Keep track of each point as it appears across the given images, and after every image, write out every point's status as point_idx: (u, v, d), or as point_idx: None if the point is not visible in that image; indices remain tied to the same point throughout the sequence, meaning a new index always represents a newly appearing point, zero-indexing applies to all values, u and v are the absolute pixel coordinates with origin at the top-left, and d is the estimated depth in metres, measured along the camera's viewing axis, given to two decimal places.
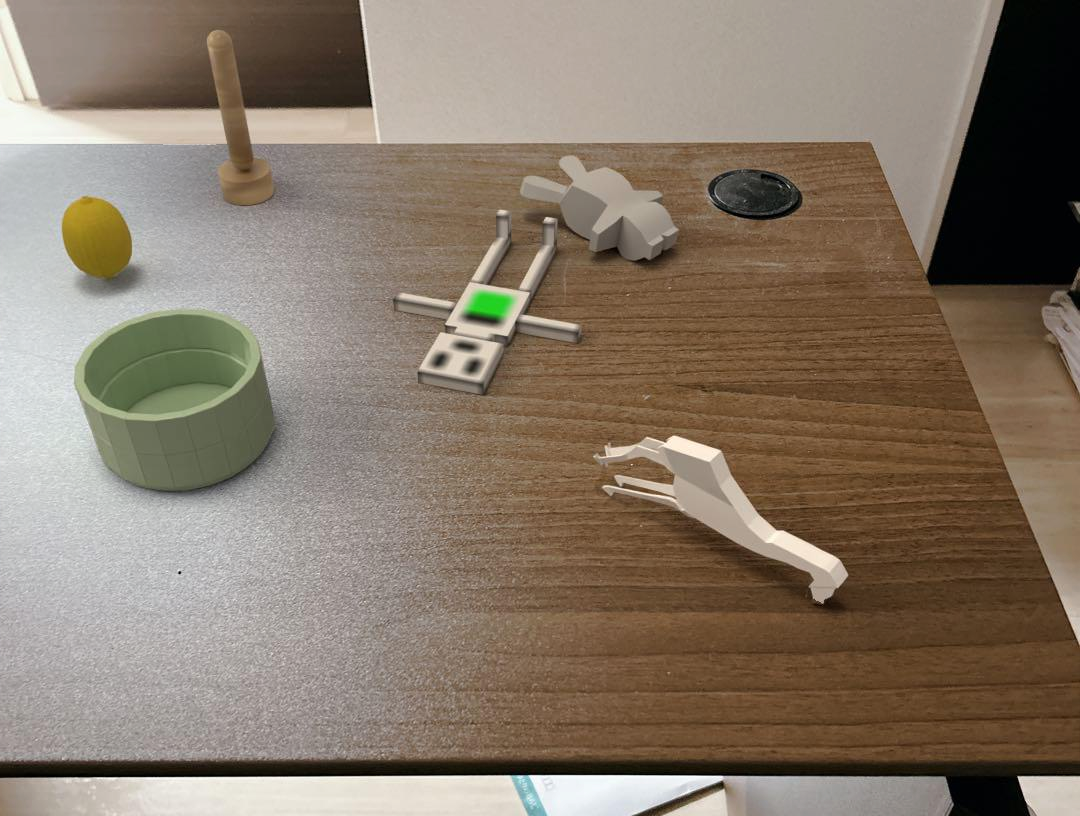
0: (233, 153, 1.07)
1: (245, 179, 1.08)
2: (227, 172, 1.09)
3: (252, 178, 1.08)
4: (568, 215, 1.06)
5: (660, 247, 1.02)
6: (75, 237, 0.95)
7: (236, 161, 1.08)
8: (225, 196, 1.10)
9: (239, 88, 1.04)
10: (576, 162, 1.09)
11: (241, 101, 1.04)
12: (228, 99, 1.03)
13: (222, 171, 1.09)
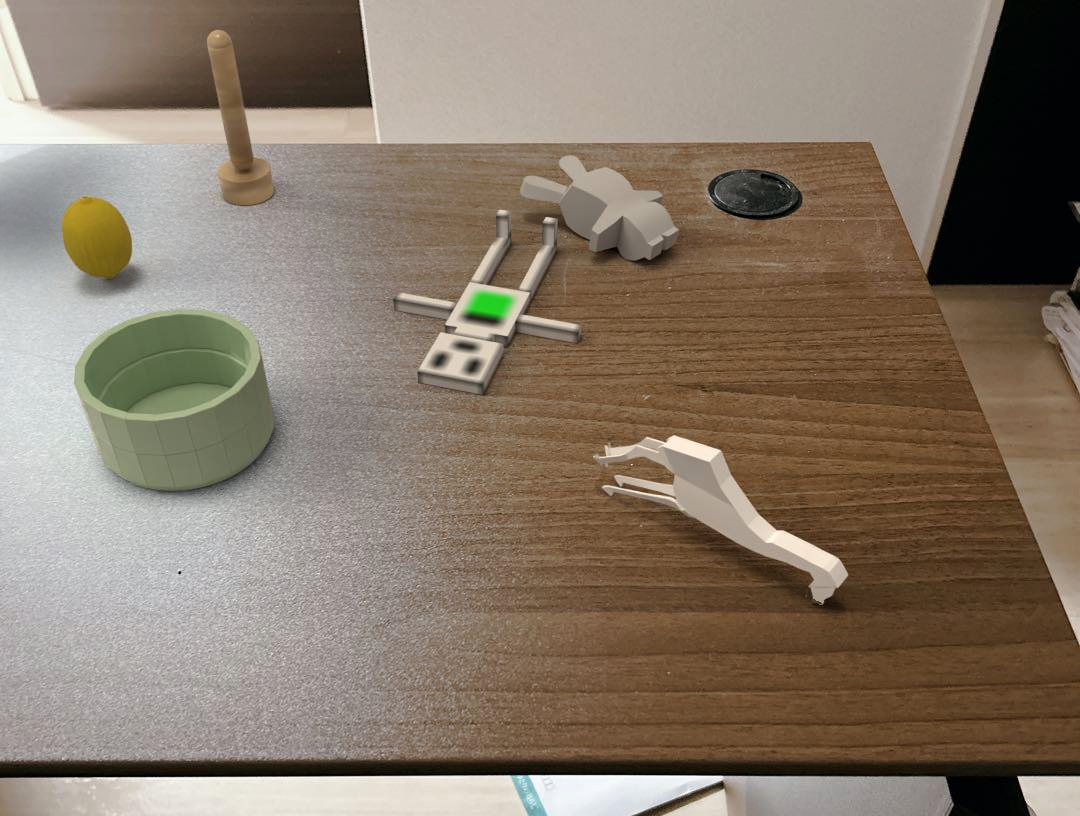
0: (233, 153, 1.07)
1: (245, 179, 1.08)
2: (227, 172, 1.09)
3: (252, 178, 1.08)
4: (568, 215, 1.06)
5: (660, 247, 1.02)
6: (75, 237, 0.95)
7: (236, 161, 1.08)
8: (225, 196, 1.10)
9: (239, 88, 1.04)
10: (576, 162, 1.09)
11: (241, 101, 1.04)
12: (228, 99, 1.03)
13: (222, 171, 1.09)
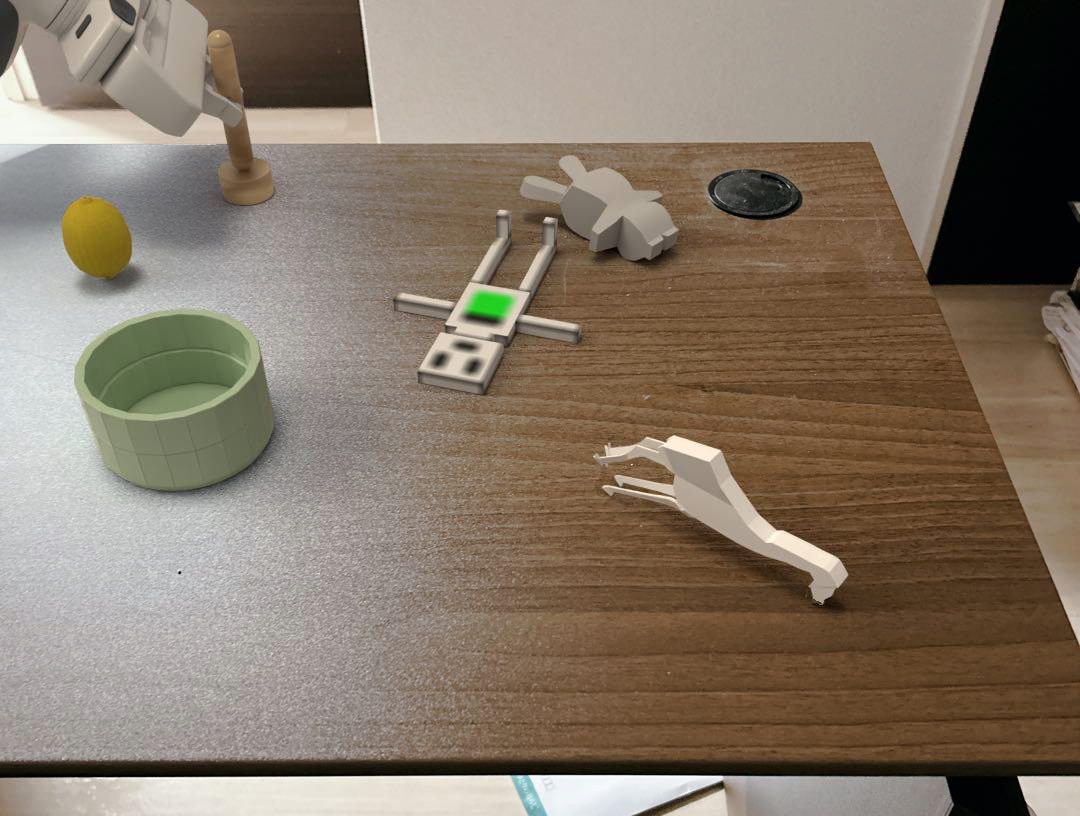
0: (233, 153, 1.07)
1: (245, 178, 1.08)
2: (227, 172, 1.09)
3: (252, 178, 1.08)
4: (568, 215, 1.06)
5: (660, 247, 1.02)
6: (75, 237, 0.95)
7: (236, 161, 1.08)
8: (225, 196, 1.10)
9: (239, 88, 1.04)
10: (576, 162, 1.09)
11: (241, 101, 1.04)
12: None
13: (222, 171, 1.09)
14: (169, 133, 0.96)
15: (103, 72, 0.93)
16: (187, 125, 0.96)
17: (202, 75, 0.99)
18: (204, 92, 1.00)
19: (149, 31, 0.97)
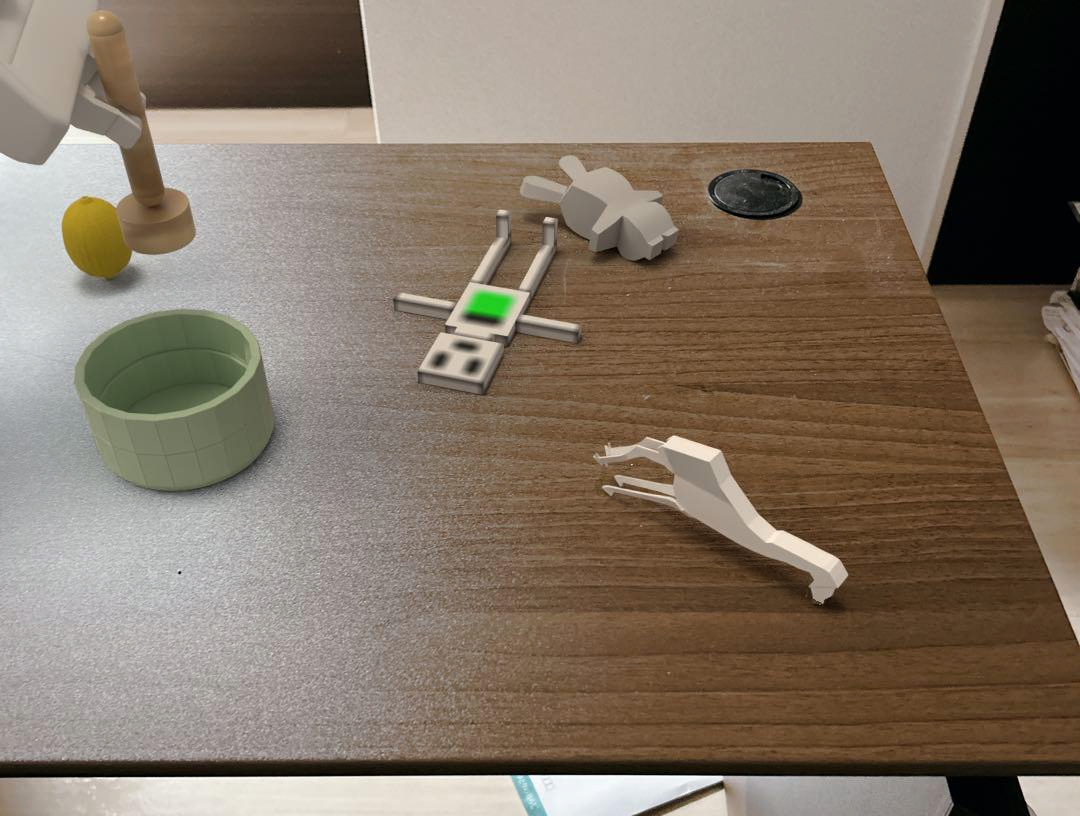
0: (134, 184, 0.77)
1: (152, 219, 0.78)
2: (128, 209, 0.79)
3: (162, 218, 0.78)
4: (568, 215, 1.06)
5: (660, 247, 1.02)
6: (75, 237, 0.95)
7: (139, 195, 0.78)
8: (126, 242, 0.80)
9: (137, 93, 0.73)
10: (576, 162, 1.09)
11: (141, 111, 0.74)
12: None
13: (121, 208, 0.79)
14: (22, 160, 0.65)
15: None
16: (47, 148, 0.65)
17: (77, 76, 0.69)
18: (81, 100, 0.70)
19: None
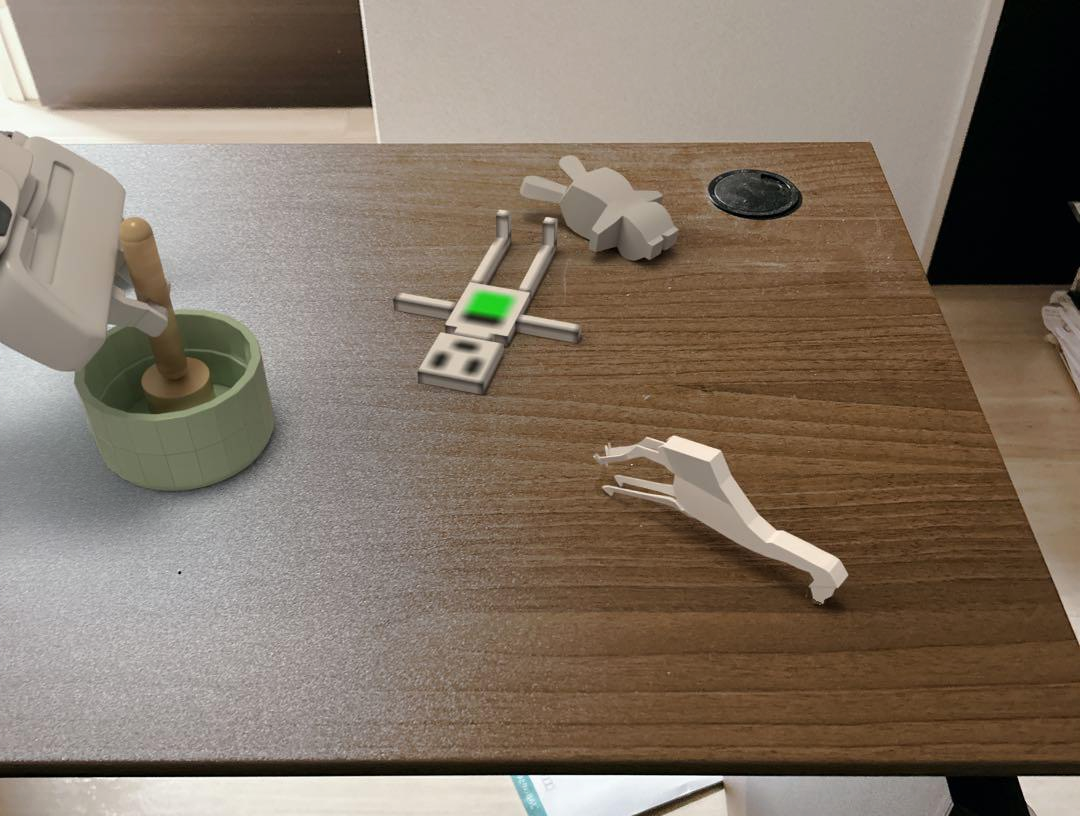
0: (160, 362, 0.82)
1: (176, 393, 0.83)
2: (153, 382, 0.84)
3: (186, 392, 0.83)
4: (568, 215, 1.06)
5: (660, 247, 1.02)
6: None
7: (163, 371, 0.83)
8: (151, 411, 0.85)
9: (164, 286, 0.79)
10: (576, 162, 1.09)
11: (168, 301, 0.79)
12: None
13: (146, 380, 0.84)
14: (61, 370, 0.71)
15: None
16: (85, 359, 0.71)
17: (110, 280, 0.74)
18: (113, 301, 0.75)
19: (35, 229, 0.72)
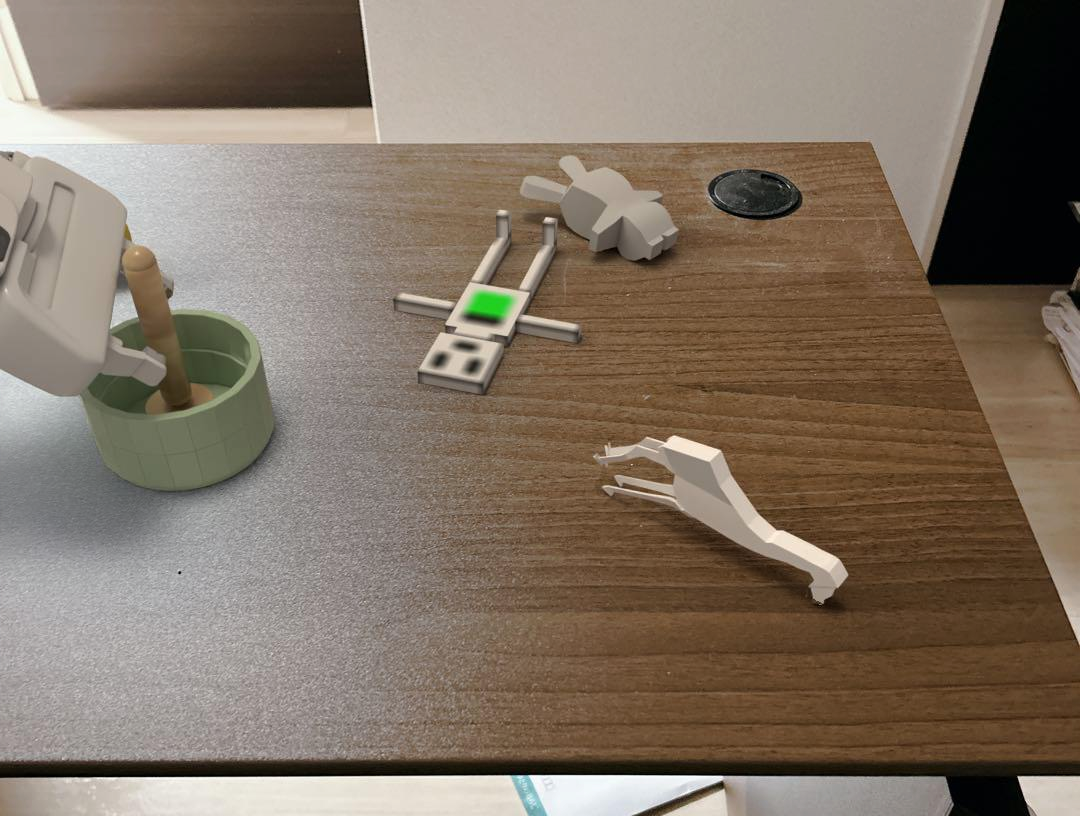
0: (164, 389, 0.82)
1: None
2: (157, 408, 0.84)
3: None
4: (568, 215, 1.06)
5: (660, 247, 1.02)
6: None
7: (168, 398, 0.82)
8: None
9: (168, 314, 0.78)
10: (576, 162, 1.09)
11: (172, 329, 0.79)
12: (153, 329, 0.78)
13: (150, 407, 0.84)
14: (60, 395, 0.70)
15: None
16: (84, 384, 0.70)
17: (110, 303, 0.74)
18: (109, 352, 0.72)
19: (34, 252, 0.71)
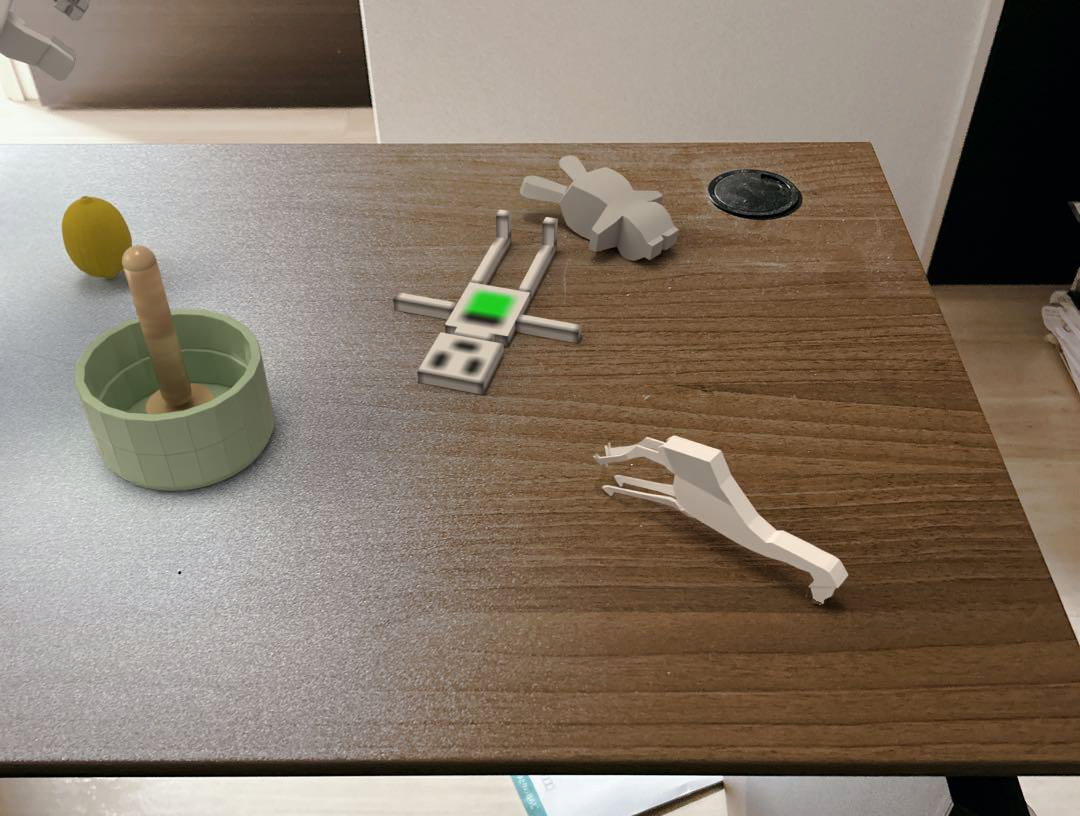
0: (164, 389, 0.82)
1: None
2: (157, 408, 0.84)
3: None
4: (568, 215, 1.06)
5: (660, 247, 1.02)
6: (75, 237, 0.95)
7: (168, 398, 0.82)
8: None
9: (168, 314, 0.78)
10: (576, 162, 1.09)
11: (172, 329, 0.79)
12: (153, 329, 0.78)
13: (150, 407, 0.84)
14: None
15: None
16: None
17: None
18: (10, 28, 0.69)
19: None
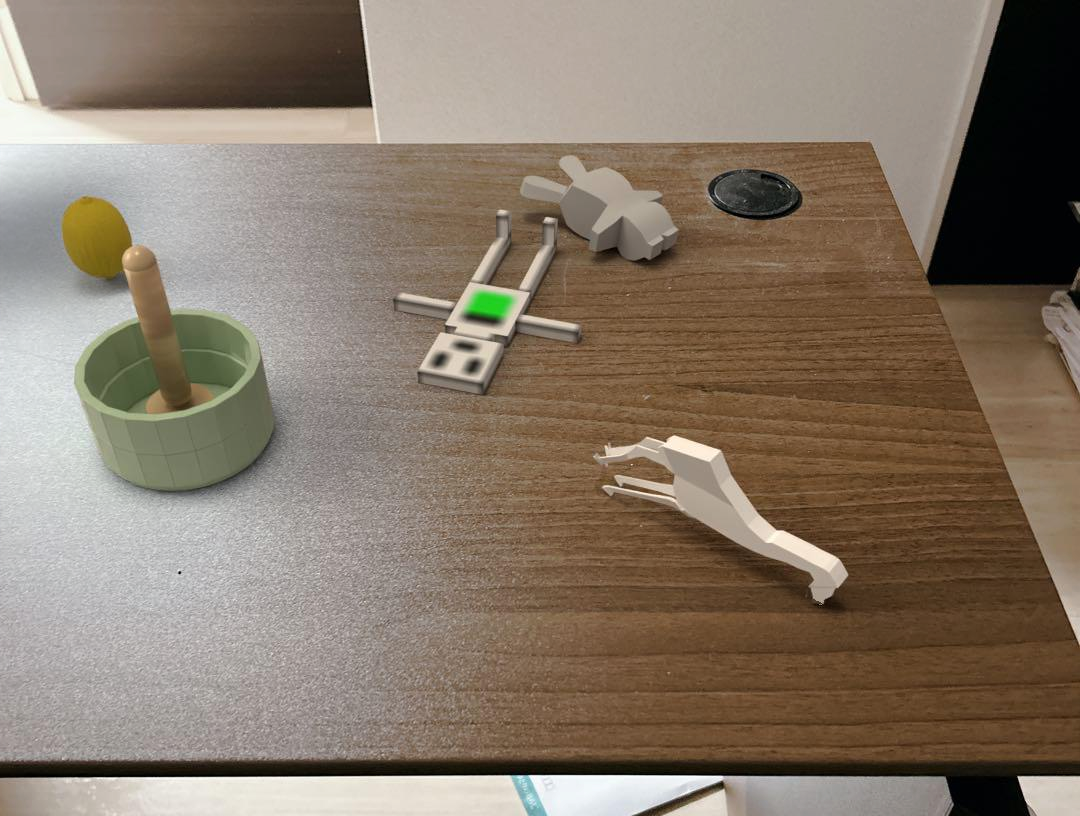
0: (164, 389, 0.82)
1: None
2: (157, 408, 0.84)
3: None
4: (568, 215, 1.06)
5: (660, 247, 1.02)
6: (75, 237, 0.95)
7: (168, 398, 0.82)
8: None
9: (168, 314, 0.78)
10: (576, 162, 1.09)
11: (172, 329, 0.79)
12: (153, 329, 0.78)
13: (150, 407, 0.84)
14: None
15: None
16: None
17: None
18: None
19: None
